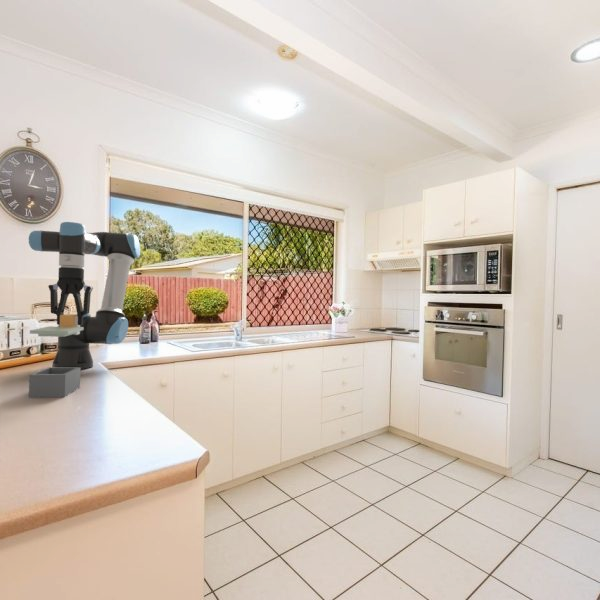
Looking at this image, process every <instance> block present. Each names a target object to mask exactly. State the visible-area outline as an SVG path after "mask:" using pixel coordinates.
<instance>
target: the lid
mask: <svg viewBox="0 0 600 600" xmlns="http://www.w3.org/2000/svg"><path fill="white" fill-rule="evenodd" d="M63 314H64V315H60V327H58V326H53V325H52V326H51V325H50V326H45V327H40V328H36V329H30V330H29V334H32V335H33V334H35V335H37V336H38V337H51V338H52V337H56V338H58V337H65V336H69V335H72V334H76V332H78V331H82V330H83V329H84V327H75V316H77V313H75V314H74V313H63Z"/></svg>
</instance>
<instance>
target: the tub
mask: <svg viewBox="0 0 600 600" xmlns="http://www.w3.org/2000/svg"><path fill="white" fill-rule="evenodd" d="M81 370H82V369H81V367H51V366H49V367H45V368H43V369H40V370H38V371H36V372H33V373H31V374H29V379H28V398H29V397H38V398H65V396H66V397H67V396H69V395H70V394H69V393H71V392H72V393H74V392H75V391H77V390H78V389H80V388H81ZM79 387H80V388H79ZM77 388H78V389H77ZM76 389H77V390H76ZM74 390H75V391H74ZM73 391H74V392H73ZM72 393H71V394H72ZM68 394H69V395H68Z"/></svg>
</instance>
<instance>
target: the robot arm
mask: <svg viewBox="0 0 600 600" xmlns="http://www.w3.org/2000/svg"><path fill="white" fill-rule="evenodd" d="M59 226H60V227H59V231H53V230H52V231H50V230H32V231H31V232H30V233H29V235H28V245H29V247H30V248H31V250H33V251H36V252H50V253H51V252H52V253H53V252H54V253H58V266H60V267H58V280H57V282H56V283H54V284H49V285H48V286H47V287H48V289H49V293H50V294H49V295H50V313H51V314H54V315H56V324H57V327H60V315H64V314H65V308H66V305H67V302H68V301H67V300H68V297H69V295H72V296H73V299H74V304H75V309H76V314H77V316H75V327H84V329H83V330H82V331H78V332H76V334H72V335H69V336H65V337H57V351H56V354H55V356H54V359H53V361H52V364H51V365H52V367H81V370H85V369H84V368H87V369H90V368H89V367H91V368H93V367H92V366H94V360H93V357H92V354H91V351H90V344H100V345H102V344H103V345H115V344H121V343H122V342H124V340H125V338H126V337H127V334H128V330H129V320H128V319H127V318H126V315H125V313H124V312H123V309H124V308H123V307H124V303H125V296H126V290H127V284H128V280H129V273H130V267H131V266H132V265H133V264H134V263H135V260H137V259H139V258H140V257H141V244H140V241H139V238H138V236H137V235H136V234H135V233H128V232H124V233H123V232H108V231H98V232H97V231H96V232H86V226H85V225H84V224H82V223H79V222H73V221H64V222H61V223H60V225H59ZM85 255H93V256H99V257H106V259H107V260H108V261H109V267H108V271H107V275H106V280H105V285H104V286H105V287H104V291H103V296H102V297H103V298H102V302H101V307H100V309H98V310H97V311H95V312H96V313H95V316H91V313H90V307H91V295H92V292H93V289H94V287H93V286H90V285H88V284H86V283H85V279H84V278H85V269H84V267H85ZM58 290H60V291H61V292H60V298H59V301H58V297H59V296H58ZM82 290H83V291H84V294H83V302H82V298H81V296H82V294H81V291H82Z"/></svg>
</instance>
